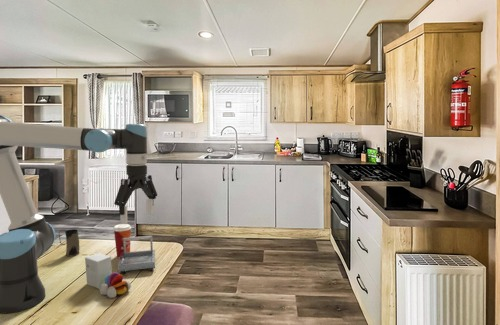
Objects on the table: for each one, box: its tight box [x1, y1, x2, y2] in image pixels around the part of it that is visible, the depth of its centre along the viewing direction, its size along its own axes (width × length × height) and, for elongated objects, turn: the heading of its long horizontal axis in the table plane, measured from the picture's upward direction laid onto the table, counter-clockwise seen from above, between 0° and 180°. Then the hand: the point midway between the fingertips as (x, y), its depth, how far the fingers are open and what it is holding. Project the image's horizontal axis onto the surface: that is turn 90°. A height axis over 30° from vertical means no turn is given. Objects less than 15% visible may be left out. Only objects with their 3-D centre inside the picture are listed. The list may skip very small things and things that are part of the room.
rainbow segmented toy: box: [99, 271, 132, 299], centre depth 121 cm, size 8×10×7 cm
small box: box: [84, 252, 113, 290], centre depth 127 cm, size 8×6×10 cm
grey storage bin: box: [117, 235, 156, 275], centre depth 143 cm, size 14×14×10 cm
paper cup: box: [112, 223, 132, 259], centre depth 154 cm, size 8×8×14 cm
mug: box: [58, 228, 80, 257], centre depth 156 cm, size 8×6×12 cm
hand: (137, 218), depth 132 cm, fingers open, 13 cm apart
